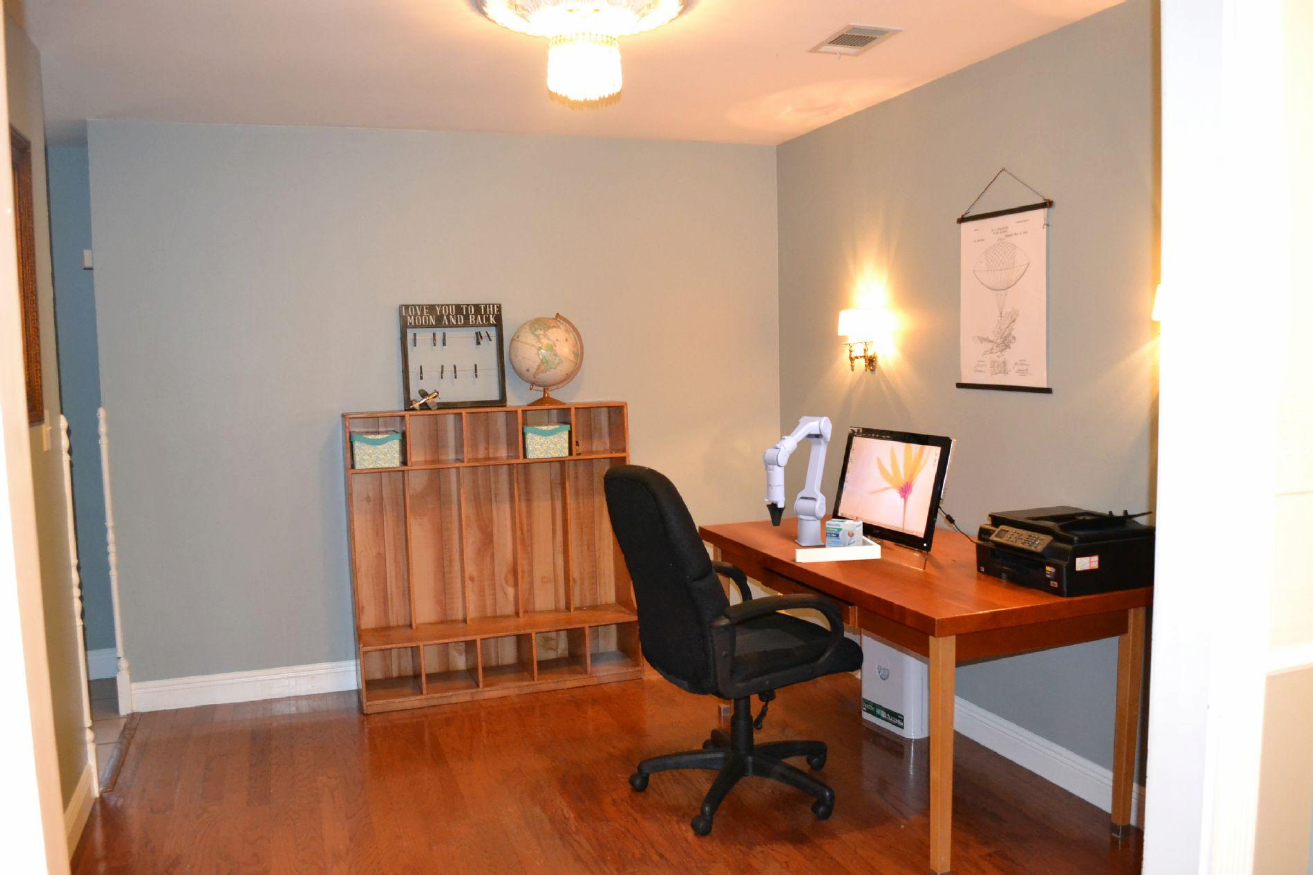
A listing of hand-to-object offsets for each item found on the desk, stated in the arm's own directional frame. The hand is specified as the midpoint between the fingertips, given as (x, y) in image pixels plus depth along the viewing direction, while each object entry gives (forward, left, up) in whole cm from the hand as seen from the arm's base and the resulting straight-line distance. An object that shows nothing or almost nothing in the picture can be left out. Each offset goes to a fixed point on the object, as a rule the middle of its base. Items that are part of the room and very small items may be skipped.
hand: (776, 525), depth 333 cm
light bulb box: (+4, +22, -10) cm, 24 cm away
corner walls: (+5, +17, -9) cm, 20 cm away
